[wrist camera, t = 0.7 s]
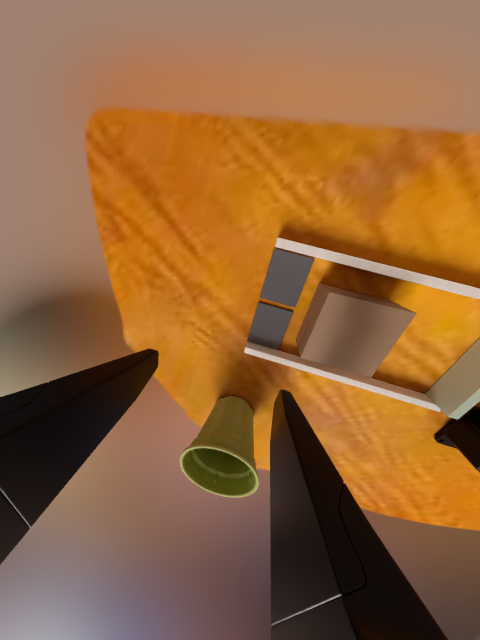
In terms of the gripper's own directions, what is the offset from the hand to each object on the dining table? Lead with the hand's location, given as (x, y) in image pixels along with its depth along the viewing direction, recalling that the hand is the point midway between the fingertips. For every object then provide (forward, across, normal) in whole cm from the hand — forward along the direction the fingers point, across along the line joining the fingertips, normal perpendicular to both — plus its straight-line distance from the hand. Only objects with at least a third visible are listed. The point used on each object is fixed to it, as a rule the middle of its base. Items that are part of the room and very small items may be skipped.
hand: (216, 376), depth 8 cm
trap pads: (+13, -3, 0) cm, 13 cm away
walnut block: (+13, -10, 0) cm, 17 cm away
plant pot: (+13, -2, +18) cm, 23 cm away
